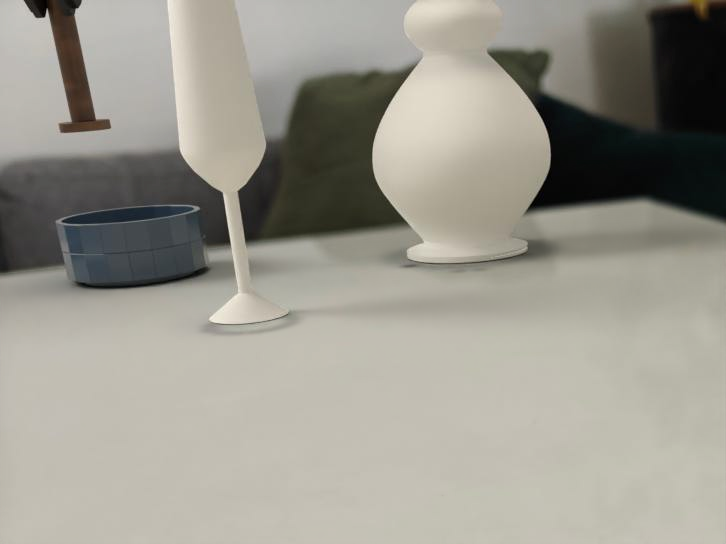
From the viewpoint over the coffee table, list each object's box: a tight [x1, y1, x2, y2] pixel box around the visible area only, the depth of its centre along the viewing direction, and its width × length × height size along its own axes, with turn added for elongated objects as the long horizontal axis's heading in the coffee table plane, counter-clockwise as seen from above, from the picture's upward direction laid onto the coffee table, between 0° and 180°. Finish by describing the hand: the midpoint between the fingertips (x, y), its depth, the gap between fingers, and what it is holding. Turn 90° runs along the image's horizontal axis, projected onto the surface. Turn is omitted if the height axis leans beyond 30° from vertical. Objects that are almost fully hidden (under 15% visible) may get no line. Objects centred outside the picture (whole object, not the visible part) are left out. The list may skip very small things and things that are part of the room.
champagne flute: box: [166, 0, 290, 325], centre depth 89 cm, size 7×7×24 cm
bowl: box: [55, 204, 210, 287], centre depth 115 cm, size 14×14×6 cm
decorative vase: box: [371, 0, 552, 264], centre depth 111 cm, size 18×18×25 cm
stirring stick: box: [46, 0, 112, 134], centre depth 102 cm, size 5×5×14 cm
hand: (50, 8), depth 98 cm, fingers closed on stirring stick
